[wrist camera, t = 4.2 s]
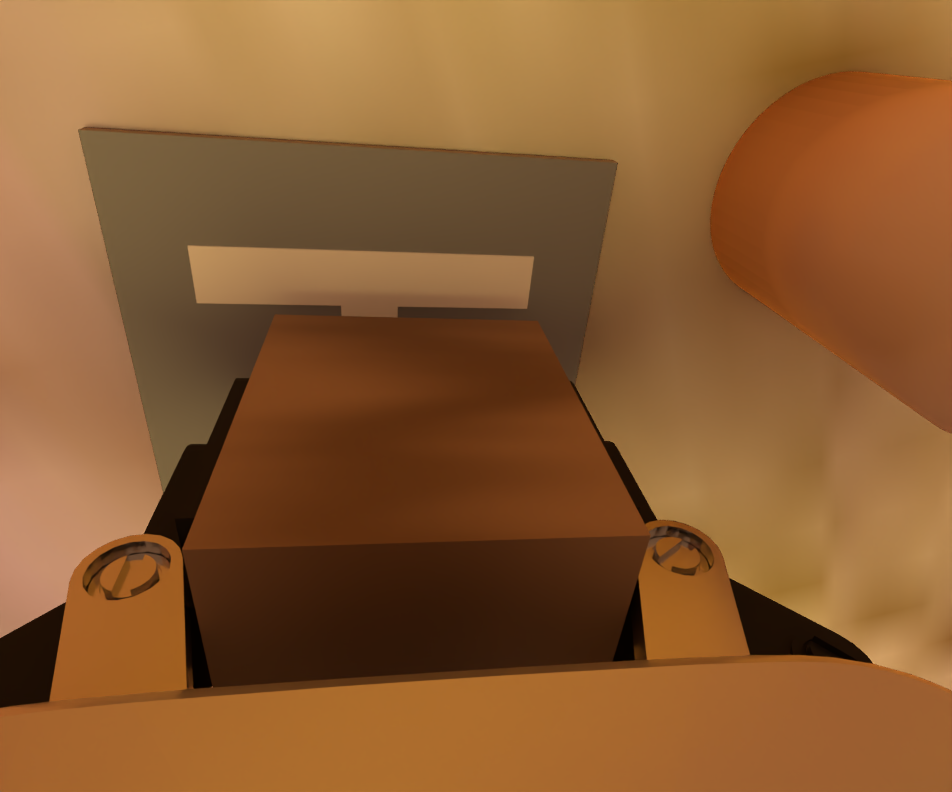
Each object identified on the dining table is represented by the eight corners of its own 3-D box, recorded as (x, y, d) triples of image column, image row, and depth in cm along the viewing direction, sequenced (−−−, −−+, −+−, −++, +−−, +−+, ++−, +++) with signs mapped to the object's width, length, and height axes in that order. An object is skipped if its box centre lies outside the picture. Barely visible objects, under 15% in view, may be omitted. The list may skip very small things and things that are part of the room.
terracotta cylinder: (963, 81, 13) (1347, 118, 8) (866, 300, 15) (1108, 435, 10) (751, 60, 12) (1028, 88, 7) (685, 297, 15) (854, 442, 10)
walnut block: (537, 321, 12) (650, 535, 7) (509, 513, 14) (577, 775, 9) (274, 314, 11) (182, 549, 6) (293, 519, 14) (239, 806, 9)
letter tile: (612, 160, 13) (618, 163, 12) (545, 521, 18) (548, 529, 17) (84, 127, 11) (77, 130, 11) (178, 538, 16) (175, 547, 16)
